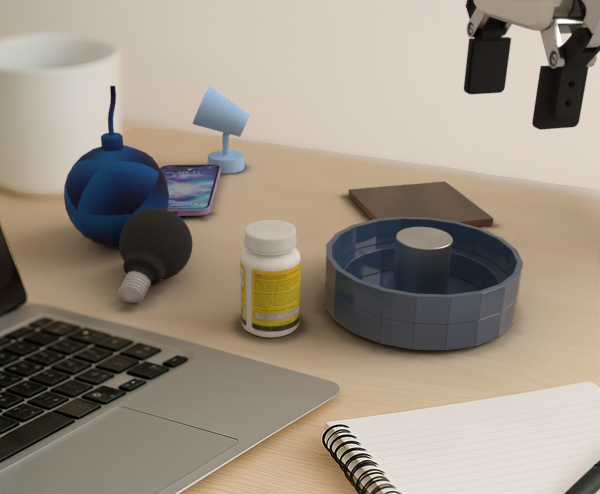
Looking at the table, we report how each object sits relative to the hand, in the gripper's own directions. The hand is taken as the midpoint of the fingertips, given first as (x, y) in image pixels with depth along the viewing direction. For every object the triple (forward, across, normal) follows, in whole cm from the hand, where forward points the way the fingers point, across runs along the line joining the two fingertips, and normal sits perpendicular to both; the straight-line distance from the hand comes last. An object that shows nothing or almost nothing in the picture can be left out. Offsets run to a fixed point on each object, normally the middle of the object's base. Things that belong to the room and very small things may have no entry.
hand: (516, 108), depth 59 cm
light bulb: (+18, +16, +24) cm, 34 cm away
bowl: (+18, +5, +4) cm, 19 cm away
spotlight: (+18, +46, +12) cm, 51 cm away
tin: (+18, +5, +4) cm, 19 cm away
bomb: (+18, +26, +26) cm, 41 cm away
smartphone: (+18, +38, +18) cm, 46 cm away
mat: (+18, +26, -6) cm, 32 cm away
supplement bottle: (+18, +6, +17) cm, 25 cm away
